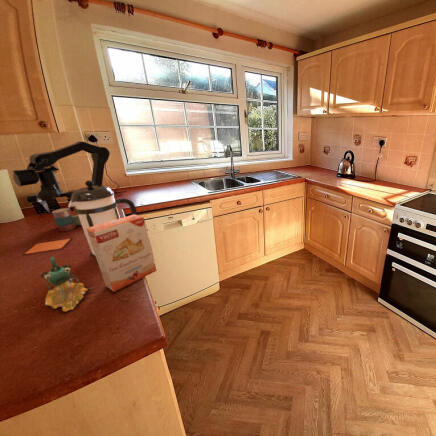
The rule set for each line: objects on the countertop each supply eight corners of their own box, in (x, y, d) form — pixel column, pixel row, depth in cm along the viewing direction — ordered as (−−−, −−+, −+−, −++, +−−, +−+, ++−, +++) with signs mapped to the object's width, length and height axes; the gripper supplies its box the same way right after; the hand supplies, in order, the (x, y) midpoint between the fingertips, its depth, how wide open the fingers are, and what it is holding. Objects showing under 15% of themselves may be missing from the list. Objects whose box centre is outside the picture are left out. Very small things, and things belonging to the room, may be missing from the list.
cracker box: (114, 293, 75) (93, 232, 68) (105, 287, 78) (84, 227, 71) (158, 271, 86) (144, 216, 79) (148, 266, 89) (134, 213, 82)
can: (78, 225, 127) (71, 207, 123) (73, 230, 122) (66, 211, 118) (62, 227, 125) (55, 209, 121) (57, 232, 119) (49, 213, 116)
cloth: (70, 239, 112) (70, 238, 112) (61, 248, 103) (61, 248, 103) (36, 244, 108) (36, 243, 108) (24, 254, 99) (24, 254, 99)
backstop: (88, 223, 130) (84, 214, 128) (87, 224, 129) (83, 215, 127) (59, 226, 126) (56, 217, 124) (58, 228, 124) (54, 219, 123)
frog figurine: (84, 277, 84) (70, 240, 77) (93, 308, 72) (78, 267, 66) (46, 289, 78) (28, 250, 71) (49, 325, 66) (27, 282, 60)
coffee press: (123, 261, 93) (99, 184, 82) (79, 264, 92) (48, 186, 81) (145, 241, 109) (127, 174, 98) (108, 242, 108) (86, 175, 97)
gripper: (12, 187, 104) (27, 221, 109) (66, 183, 110) (78, 215, 116) (26, 182, 113) (39, 213, 119) (76, 178, 120) (86, 208, 126)
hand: (61, 212), depth 120 cm, fingers open, 9 cm apart
